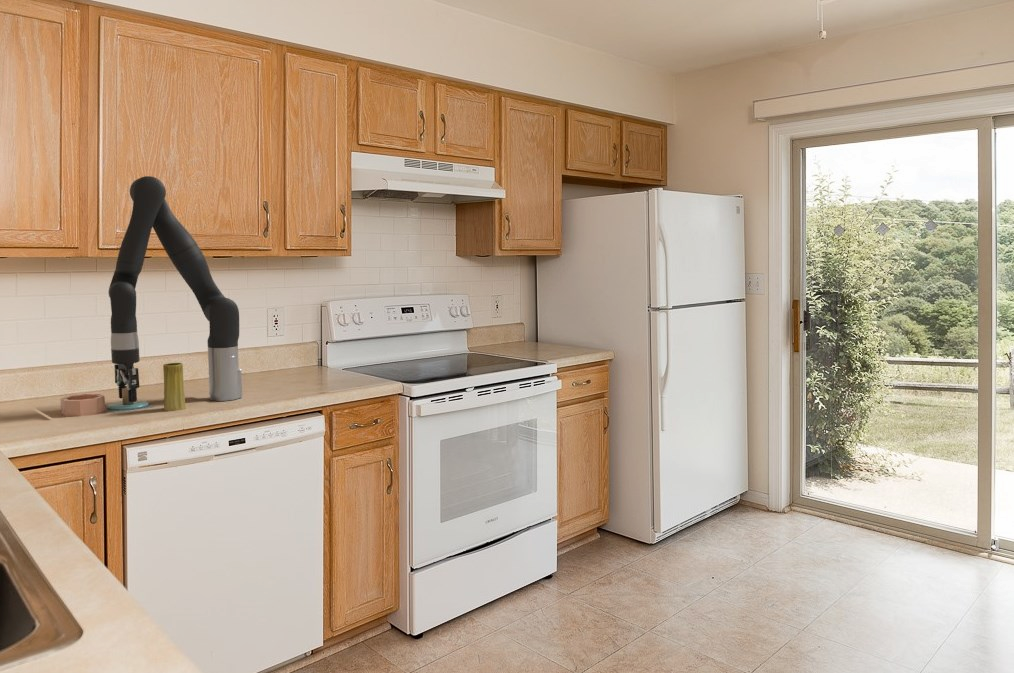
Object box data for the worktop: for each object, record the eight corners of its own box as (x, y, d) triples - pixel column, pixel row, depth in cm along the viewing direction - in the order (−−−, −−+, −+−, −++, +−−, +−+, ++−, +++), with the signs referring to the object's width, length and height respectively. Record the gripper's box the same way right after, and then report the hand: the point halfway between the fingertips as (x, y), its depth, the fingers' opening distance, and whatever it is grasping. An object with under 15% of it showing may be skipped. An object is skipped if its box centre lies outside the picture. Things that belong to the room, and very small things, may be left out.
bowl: (97, 408, 223) (96, 392, 223) (108, 414, 216) (107, 397, 215) (58, 413, 216) (57, 397, 215) (68, 419, 208) (67, 402, 208)
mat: (142, 403, 232) (142, 401, 232) (156, 408, 224) (156, 406, 223) (100, 408, 224) (100, 406, 223) (113, 414, 215) (113, 412, 215)
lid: (140, 401, 231) (139, 383, 231) (153, 406, 224) (152, 388, 223) (102, 406, 223) (101, 387, 223) (114, 412, 216) (113, 392, 215)
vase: (189, 408, 224) (187, 362, 222) (181, 412, 218) (178, 365, 216) (169, 408, 224) (166, 362, 222) (160, 412, 218) (158, 365, 216)
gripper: (146, 348, 219) (149, 401, 221) (130, 344, 229) (132, 395, 231) (119, 350, 214) (122, 404, 216) (104, 346, 224) (106, 398, 226)
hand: (127, 399), depth 223 cm, fingers open, 8 cm apart
